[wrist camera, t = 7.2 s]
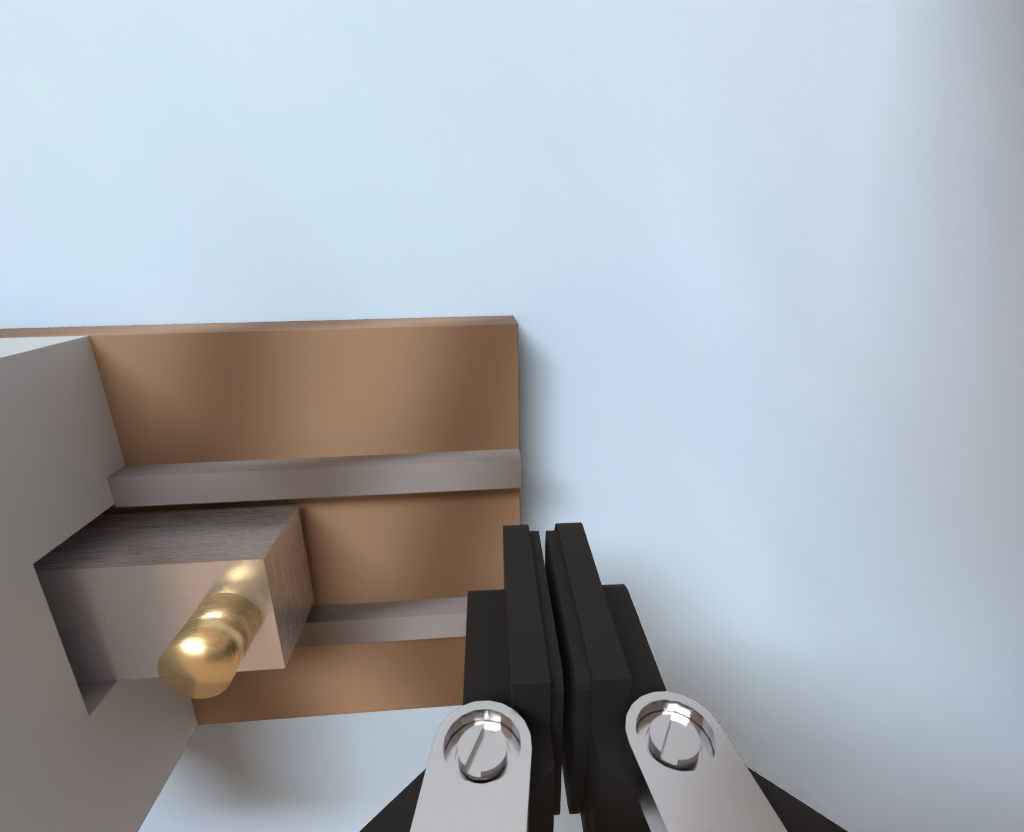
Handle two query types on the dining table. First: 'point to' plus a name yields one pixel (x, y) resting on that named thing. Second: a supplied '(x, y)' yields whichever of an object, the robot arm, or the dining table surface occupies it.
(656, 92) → the dining table surface
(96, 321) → the dining table surface
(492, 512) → the lock base
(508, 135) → the dining table surface
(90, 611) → the bolt
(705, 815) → the robot arm
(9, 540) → the door edge
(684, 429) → the dining table surface
